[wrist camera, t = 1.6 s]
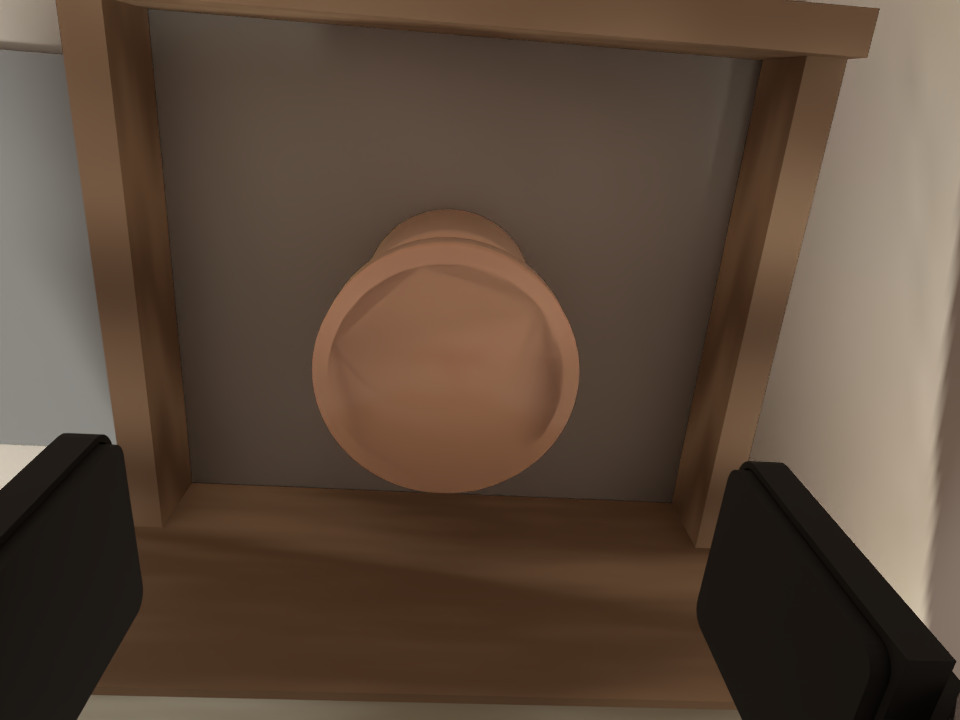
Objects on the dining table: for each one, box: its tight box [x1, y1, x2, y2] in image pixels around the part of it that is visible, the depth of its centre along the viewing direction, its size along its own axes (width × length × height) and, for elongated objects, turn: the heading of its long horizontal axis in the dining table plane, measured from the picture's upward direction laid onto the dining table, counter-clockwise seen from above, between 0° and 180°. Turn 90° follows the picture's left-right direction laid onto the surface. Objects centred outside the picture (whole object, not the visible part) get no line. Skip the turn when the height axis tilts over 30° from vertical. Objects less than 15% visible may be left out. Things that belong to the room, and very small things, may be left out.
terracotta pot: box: [312, 209, 579, 493], centre depth 21 cm, size 7×7×8 cm
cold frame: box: [56, 0, 880, 720], centre depth 16 cm, size 19×22×18 cm
